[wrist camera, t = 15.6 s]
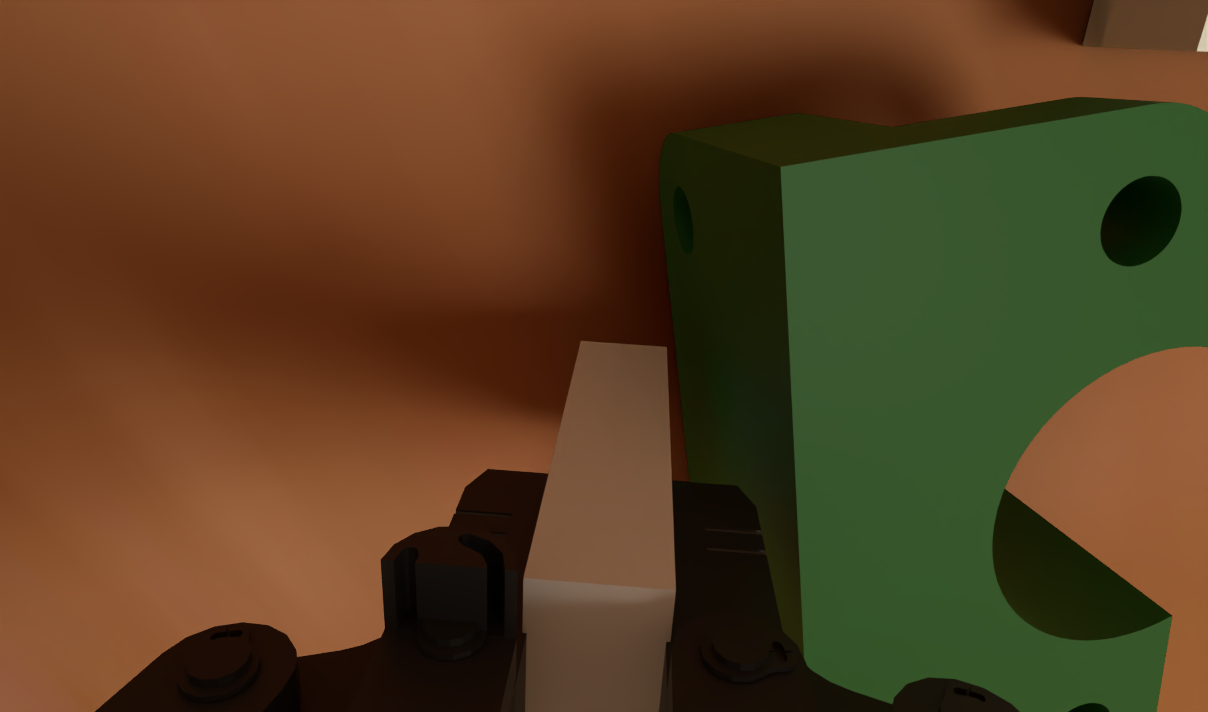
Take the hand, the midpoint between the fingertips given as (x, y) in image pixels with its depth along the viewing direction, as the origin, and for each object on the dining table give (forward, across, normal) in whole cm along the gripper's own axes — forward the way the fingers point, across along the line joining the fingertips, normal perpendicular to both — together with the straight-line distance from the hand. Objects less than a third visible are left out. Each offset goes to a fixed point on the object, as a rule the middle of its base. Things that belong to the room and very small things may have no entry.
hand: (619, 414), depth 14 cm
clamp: (+2, +5, 0) cm, 5 cm away
